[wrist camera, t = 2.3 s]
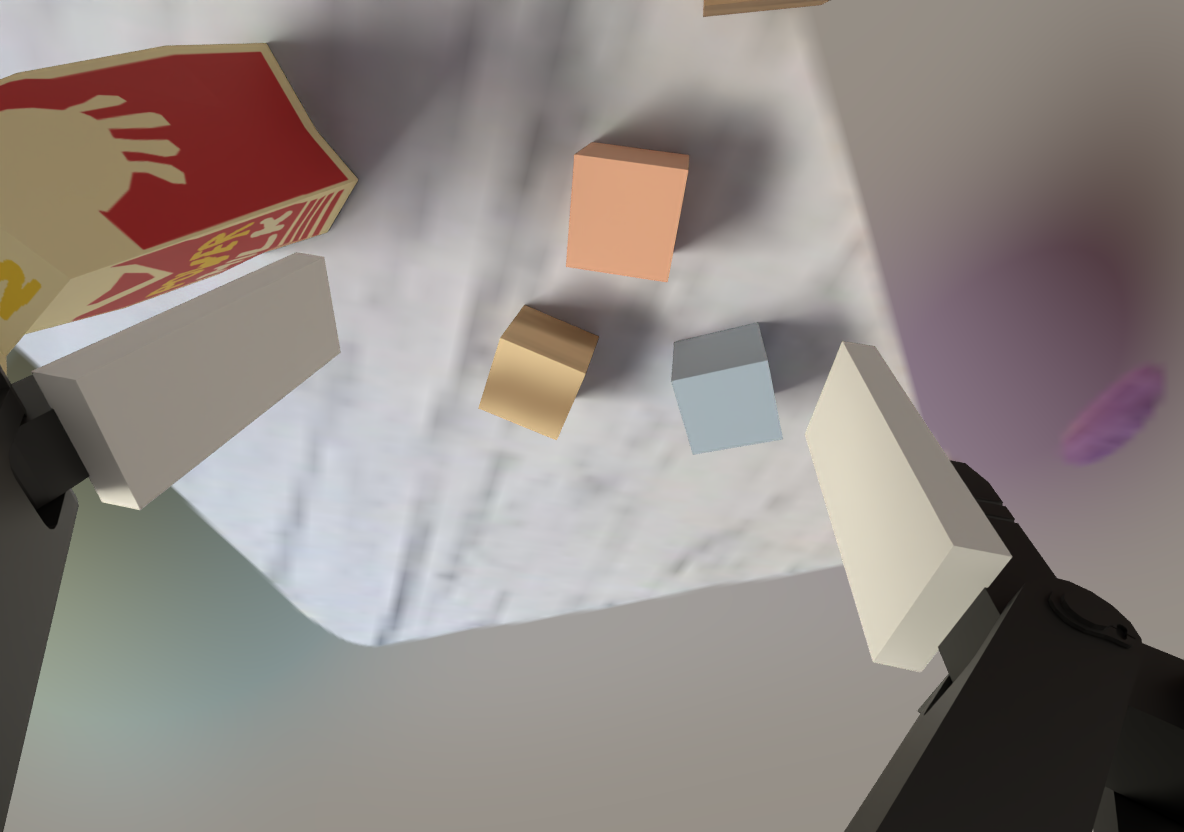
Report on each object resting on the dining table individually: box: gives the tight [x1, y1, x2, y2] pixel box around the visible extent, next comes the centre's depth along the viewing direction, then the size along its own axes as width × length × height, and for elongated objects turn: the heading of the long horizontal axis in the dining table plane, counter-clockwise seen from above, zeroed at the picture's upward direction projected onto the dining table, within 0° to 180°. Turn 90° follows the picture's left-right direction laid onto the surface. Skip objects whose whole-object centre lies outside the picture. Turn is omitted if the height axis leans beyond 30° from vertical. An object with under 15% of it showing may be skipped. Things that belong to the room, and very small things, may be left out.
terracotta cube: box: [566, 142, 689, 282], centre depth 27 cm, size 5×5×5 cm
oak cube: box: [479, 305, 599, 440], centre depth 32 cm, size 5×5×5 cm
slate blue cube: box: [671, 322, 783, 455], centre depth 31 cm, size 5×5×5 cm
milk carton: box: [0, 43, 358, 376], centre depth 22 cm, size 9×9×20 cm
